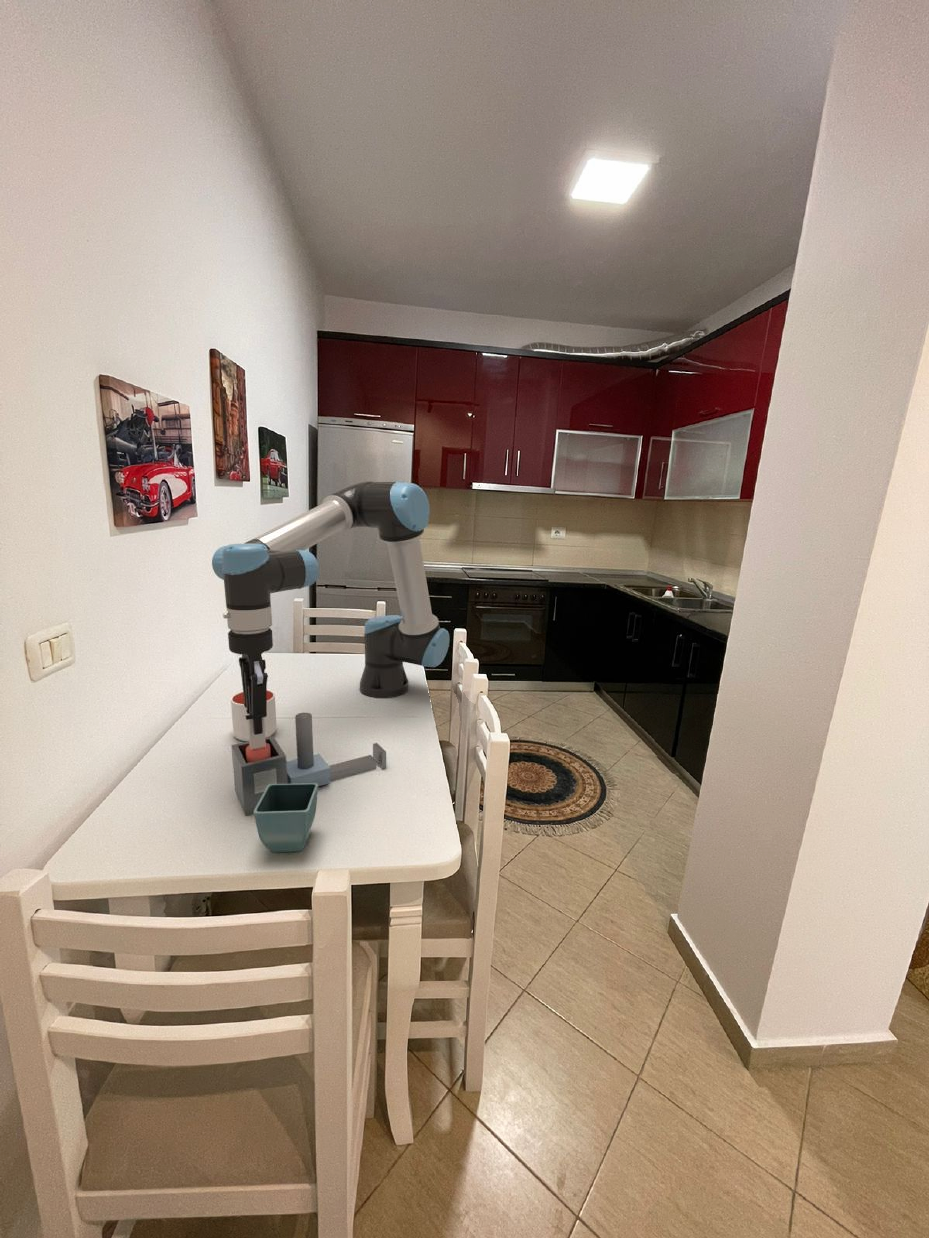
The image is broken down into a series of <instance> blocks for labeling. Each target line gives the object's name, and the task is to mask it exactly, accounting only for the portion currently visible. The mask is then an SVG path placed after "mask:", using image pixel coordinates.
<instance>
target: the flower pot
mask: <svg viewBox="0 0 929 1238" xmlns="http://www.w3.org/2000/svg"><path fill="white" fill-rule="evenodd" d="M318 792H319V786H318V783H296V784H295V783H294V784H269V785H268V786H267V787H266V789H265V791H264V793H263V795H262V797H261V799H260V800H259V802H258V804H257V806H256V807H255V809H254V812H253V813H252V814H253V817H254V821H255V826H256V829H257V834H258V837H259V840H260V841H261V843H262V845H264V846H265V848H266V849H268V850H269V851H270V852H271V853H284V852H285V853H286V852H290V853H291V852H301V851H302V850H303V849H304V848H305V846H306V843H307V840H308V837H309V835H310V831H311V828H312V826H313V823H314V820H315V818H316V817H315V816H316V812H317V805H318V794H319V793H318Z"/></svg>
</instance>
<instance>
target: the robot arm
mask: <svg viewBox="0 0 929 1238" xmlns="http://www.w3.org/2000/svg"><path fill="white" fill-rule="evenodd" d="M430 513H431V508H430V502H429V498H428V496H427V494H426V493H425V491H424V490H423V488H422V487H420V485H417V484H416V483H412V482H405V481H361V482H359V483H355V484H353V485H352V484H351V485H349V486H347V487H344V488H341V489H340V490H338V491H335V492H334V493H331V494H330V495H328V496H325V497H324V498H323V500H322V502H321V504H319V505H318V506H314V507H313V508H311V509H309V510H307V511H305V512H303V513H302V514H300V515H298V516H295V517H293V518H292V519H290V520H288V521H286V522H283V523H282V524H280V525H278V526H276V527H274V528H272V529H270V530H267V531H266V532H264V533H262V534H261V535H258V536H256V537H254V538H252V539H250V540H249V541H246V542H244V543H230V544H227V545H224V546H221V547H218V549H216V550H215V552H214V553H213V556H212V558H211V566H212V569H213V572H214V574H215V576H217V577H218V578H219V579H221V580H223V586H224V598H225V606H226V611H227V612H226V613H223V614H222V616H223V617H222V618H224V619H227V620H226V621H227V628H228V630H229V631H228V632H227V639H228V650H229V651H230V652H231V653H233V654H237V655H241V657H238V665H239V667H240V677H241V685H242V692H243V695H244V706H245V708H247V710H246V712H247V714H250V715H246V716H245V717H246V720H248V732H249V747H250V749H251V750H253V749H258V748H262V747H266V741H265V724H264V717H266V716H267V689H268V685H267V684H268V678H269V675H268V673H267V672H266V671H265V670H266V667H267V665H266V664H267V663H266V659H263V657H262V656H263V655H262V654H263V653H264V652H268V651H270V650H271V649H272V648H273V646H274V644H273V643H274V642H273V630H272V629H271V626H273V619H272V617H273V616H272V615H273V614H272V604H271V594H274V593H275V594H276V593H281V592H285V591H293V590H302V588H306V587H309V586H312V585H314V584H315V583H316V581H317V580H318V578H319V574H320V567H319V562H318V560H317V558H316V557H315V555H314V554H313V553H311V552H310V551H309V550H308V549H310V548H311V547H313V546H315V545H316V544H318V543H320V542H321V541H324V540H325V539H327V538H328V537H331V536H332V535H334V534H336V533H337V532H339V533H345V532H348V531H349V530H351V529H353V528H354V529H355V528H375V529H377V531H378V535H379V539H380V541H381V542H383V543H385V544H386V545H387V550H388V555H389V559H390V565H391V569H392V570H391V571H392V575H393V580H394V584H395V590H396V594H397V595H396V596H397V599H398V604H399V605H398V606H399V609H400V615H398V614H390V615H389V614H388V615H381V616H376V617H372V618H369V619H368V620H367V621H365V623H364V633H363V635H364V668H363V672H362V674H361V677H360V680H359V691H360V693H361V694H362V695H365V696H366V697H371V698H372V697H373V698H382V699H383V698H392V697H398V696H401V695H403V694H405V693H407V691H408V690H409V680H408V676H407V673H406V671H405V667H404V663H408V664H411V665H416V666H422V667H428V668H436V667H437V666H439V665H441V663H442V662H443V661H444V660H445V658H446V655H447V653H448V650H449V647H450V633H449V631H448V630H447V629H445V628H444V627H443V628H441V627H440V622H439V618H438V617H437V616H436V615H434V614H433V612H432V605H431V600H430V594H429V589H428V583H427V581H428V580H427V576H426V570H425V565H424V564H425V563H424V558H423V553H422V547H421V546H422V545H421V540H420V538H421V537H422V536H423V535H424V532H425V528H426V527H427V526H428V523H429V521H430V517H429V516H430V515H431V514H430Z"/></svg>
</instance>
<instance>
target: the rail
mask: <svg viewBox="0 0 929 1238" xmlns="http://www.w3.org/2000/svg"><path fill="white" fill-rule="evenodd" d="M328 765H329V764H328ZM377 765H378V767H379V768H380V769H381V770H385V769H387V751H386V750H385V749H384V748H383V747H382V746H381V745H380V744H379V743H378V742H374V743H372V754H368V755H364V756H361V757H358V758H352V759H349V760H344V761H342V762H337V763H334V764H330V765H329V767H330V774H331V777H329V783H330V782H334V781H336V780H341V779H344V778H348V777H352V776H355V775H358V774H362V773H365V772H369V771H372V770H376V769H377ZM287 782H288V781H287ZM288 784H289V783H288Z"/></svg>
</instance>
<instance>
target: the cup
mask: <svg viewBox="0 0 929 1238" xmlns="http://www.w3.org/2000/svg"><path fill="white" fill-rule="evenodd" d="M230 706H231V707H230V708H231V719H232V720H231V721H232V730H233V731H232V733H233V736H234V737H235V738H236V739H237V740H239V741H243V742H247V741H249V732H248V720H246V717H245V716H246V715H250V714H247V712H246V710H247V708H245V706H244V695H243V691H241V692H239V693H236V694H235V695H232V696H231V698H230ZM276 710H277V709H276V694H275V693H274V692H273V691H272V690H267V716H266V717H264V724H265V738H266V737H270V736H274V733H275V732H277V728H278V727H277V711H276Z"/></svg>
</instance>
